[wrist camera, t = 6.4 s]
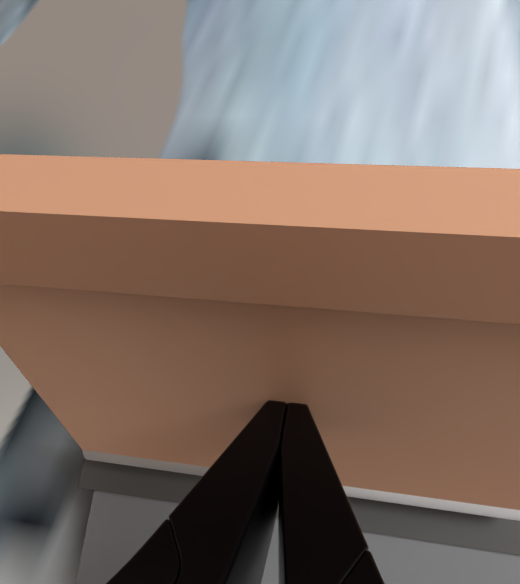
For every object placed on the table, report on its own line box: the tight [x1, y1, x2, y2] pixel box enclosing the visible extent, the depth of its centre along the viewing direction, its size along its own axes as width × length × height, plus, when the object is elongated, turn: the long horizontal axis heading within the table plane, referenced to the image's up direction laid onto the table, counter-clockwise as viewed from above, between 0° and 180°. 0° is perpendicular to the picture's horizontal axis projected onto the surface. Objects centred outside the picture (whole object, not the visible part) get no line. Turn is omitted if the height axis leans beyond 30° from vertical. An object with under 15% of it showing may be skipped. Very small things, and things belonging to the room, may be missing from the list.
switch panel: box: [75, 457, 520, 584], centre depth 12 cm, size 16×22×3 cm
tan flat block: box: [0, 154, 520, 521], centre depth 9 cm, size 2×12×9 cm, turn 84°
